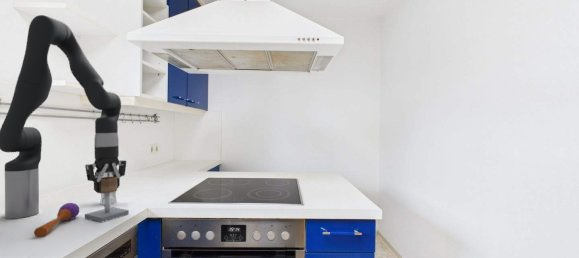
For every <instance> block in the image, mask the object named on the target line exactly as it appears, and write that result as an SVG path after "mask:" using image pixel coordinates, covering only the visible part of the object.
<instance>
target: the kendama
mask: <svg viewBox="0 0 579 258" xmlns="http://www.w3.org/2000/svg"><path fill="white" fill-rule="evenodd" d="M79 213H80V207H79V205H78V204H77V203H74V202H67V203H64V204H63V205H62V206H60V207H59V209H58V212H57V214H56V216H57V217H56V218H55V219H52V220H50V221H49V222H46V223H44V224H43V225H41V226H39V227H38V226H37V227H36V228H35V229H34V231H33V235H34V236H35V237H37V238H42V237H46V236H47V235H48V234H49V232H50V231H51V230H53V228H54V227H55V226H56V225H57V224H58V223H59V222H60V221H63V222H64V221H70V220H73V219H75V218H76V217H77V216H78V215H79Z"/></svg>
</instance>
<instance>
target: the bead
mask: <svg viewBox="0 0 579 258" xmlns="http://www.w3.org/2000/svg"><path fill="white" fill-rule="evenodd" d="M100 182H101V192H96V194H101V193H111V192H116V193H117V191H118V188H117V177H102V178H101V180H100Z"/></svg>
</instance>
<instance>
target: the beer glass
mask: <svg viewBox="0 0 579 258" xmlns="http://www.w3.org/2000/svg"><path fill="white" fill-rule="evenodd" d="M102 177H113V175H112V174H111V173H110V172H107V173H104V175H103V176H102ZM116 193H117V191H116V192H111V193H110V204H111V205H114V204H116V203H117V195H116ZM99 204H100V205H101V206H105V193H100V201H99Z"/></svg>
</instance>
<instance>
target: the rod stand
mask: <svg viewBox="0 0 579 258" xmlns="http://www.w3.org/2000/svg"><path fill="white" fill-rule="evenodd" d="M129 214H130V212H129V209H124V208H120V207H119V208H118V207H115V206H111V205H110V193H105V205H104V208H103V209H98V210H96V211H91V212H88V213H84V219H86V220H90V219H91V221H94V220H95V221H94V222H98V221H100V222H99V223H104V222H107V221H106V220H108V221H111V220H114V219H117V218H116V217H118V218H120V216H121V217H124V216H126V215H129ZM123 215H124V216H123ZM113 218H114V219H113ZM110 219H111V220H110ZM103 221H104V222H103Z"/></svg>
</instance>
